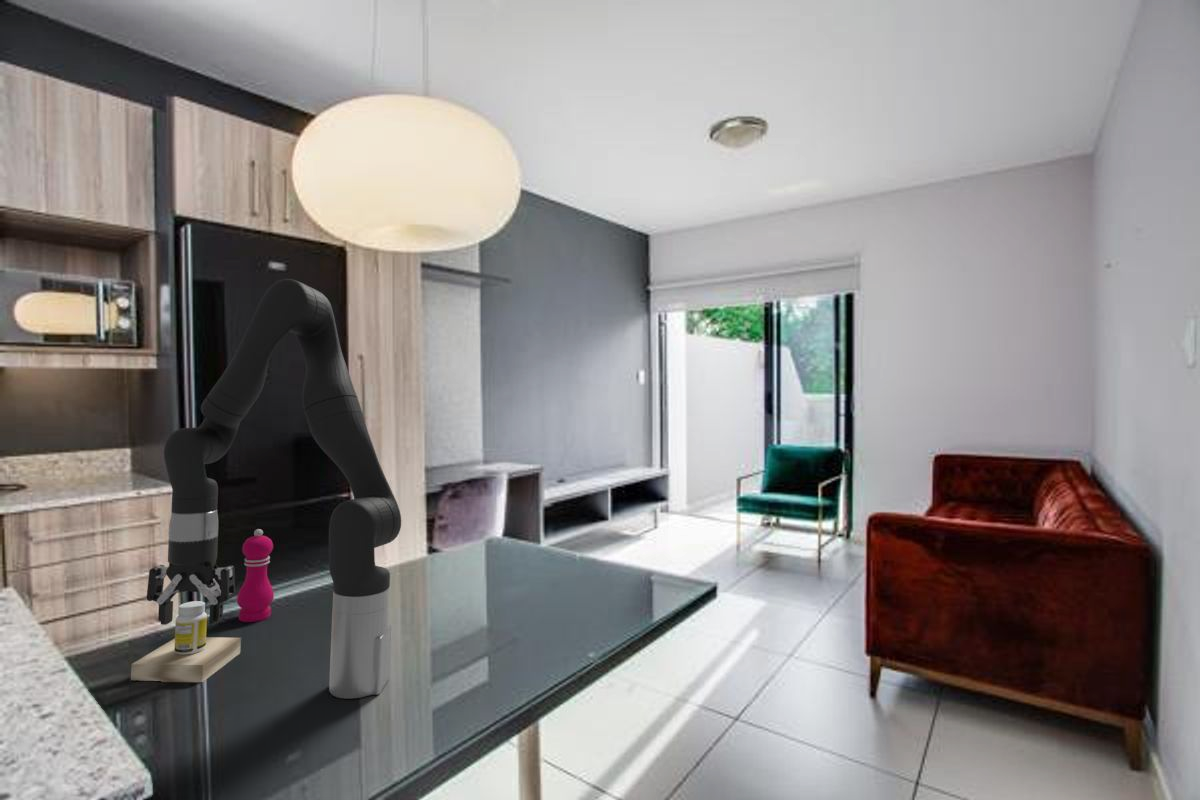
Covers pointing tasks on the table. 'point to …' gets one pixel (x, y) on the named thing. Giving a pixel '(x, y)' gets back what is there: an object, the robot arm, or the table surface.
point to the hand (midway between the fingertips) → (190, 623)
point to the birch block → (186, 661)
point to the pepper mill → (256, 579)
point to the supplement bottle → (190, 628)
